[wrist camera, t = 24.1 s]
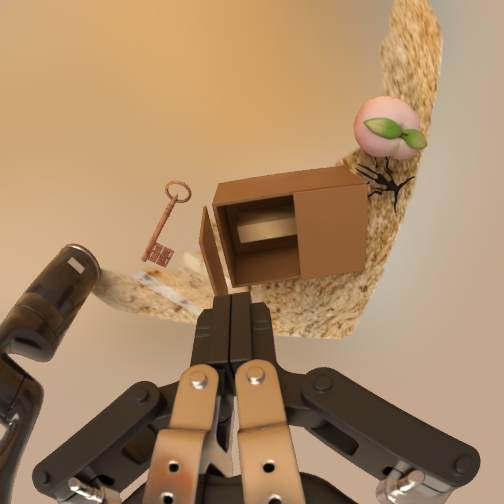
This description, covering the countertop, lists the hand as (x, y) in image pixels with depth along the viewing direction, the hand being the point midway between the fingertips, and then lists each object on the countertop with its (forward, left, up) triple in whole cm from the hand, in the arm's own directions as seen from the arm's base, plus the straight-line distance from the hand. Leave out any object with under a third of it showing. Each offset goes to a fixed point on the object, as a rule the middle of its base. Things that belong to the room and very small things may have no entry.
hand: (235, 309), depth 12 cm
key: (-13, -7, -28) cm, 32 cm away
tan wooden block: (+5, -8, -28) cm, 30 cm away
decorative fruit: (+19, +4, -29) cm, 35 cm away
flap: (+10, -8, -20) cm, 23 cm away
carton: (+5, -8, -28) cm, 30 cm away
